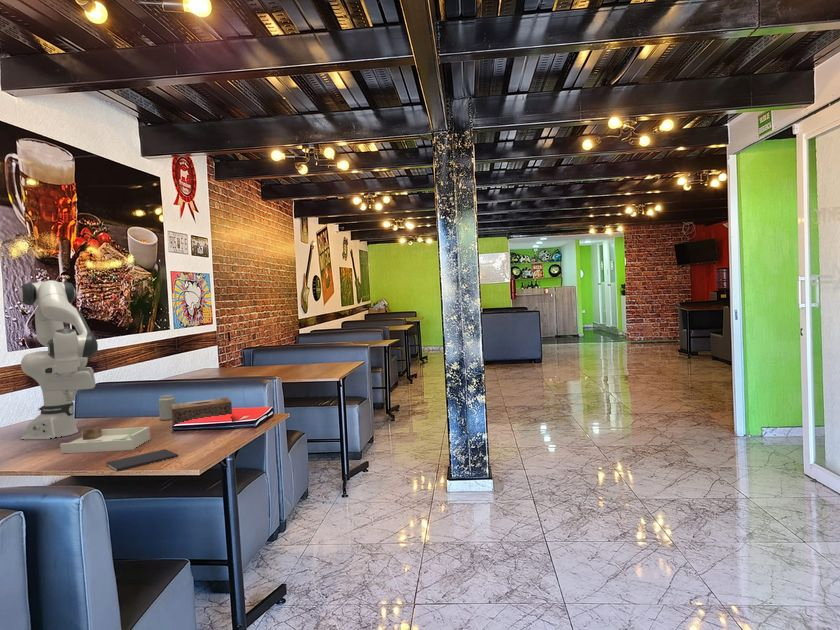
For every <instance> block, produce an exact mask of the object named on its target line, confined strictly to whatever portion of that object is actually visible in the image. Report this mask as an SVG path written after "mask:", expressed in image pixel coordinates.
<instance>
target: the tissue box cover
mask: <svg viewBox="0 0 840 630" xmlns="http://www.w3.org/2000/svg"><path fill="white" fill-rule="evenodd" d="M232 403H233V402H232V401H231V400H230V399H229V398H228V397H221V398H219V397H218V398H214V399H211V398H210V399H204V400H196V401H194V400H193V401H186V402H180V403H178V402H177V403H175V404H171V410H172V420H171V421H172V423H171V424H173V425H172V427H173V426H174V425H175V424H178V423H180V422H184V421H189V420H192V419H198V418H204V417H211V416H219V415H226V414H232V415H233V406H232Z"/></svg>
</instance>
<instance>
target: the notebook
mask: <svg viewBox="0 0 840 630" xmlns="http://www.w3.org/2000/svg"><path fill="white" fill-rule="evenodd" d="M177 456H178V457H179V453H175V452H173V451H170V450H168V449H158V450H155V451H150V452H146V453H142V454H141V453H140V454H137V455H133V456H127V457H124V458H119V459H116V460H110V461H109V460H108V461H106V462H105V464H106V467H108V468H111V469H112V470H113V471H115V472H122V471H126V470H130V469H134V468H138V467H142V466H147V465H151V464H150V463H152V464H155V463H154V462H156V463H160V462H163V461H162V460H164V461H167V460H166V459H169V460H171V459H170V458H173V459H175V458H174V457H177ZM178 457H177V458H178ZM159 461H160V462H159Z"/></svg>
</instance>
